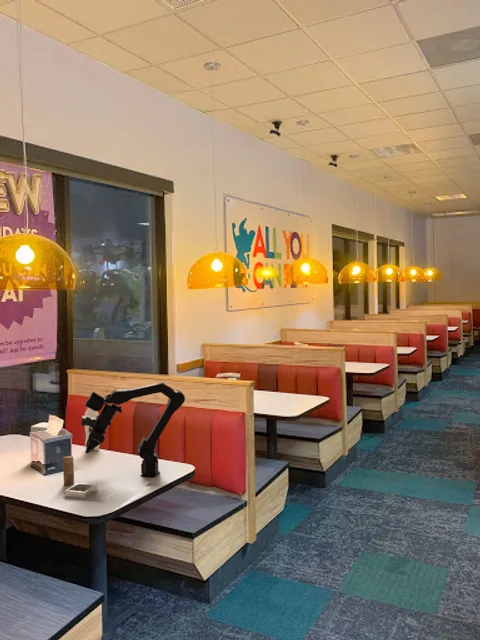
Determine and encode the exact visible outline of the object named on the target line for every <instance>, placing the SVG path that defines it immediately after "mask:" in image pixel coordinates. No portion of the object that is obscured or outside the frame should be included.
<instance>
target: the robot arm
mask: <svg viewBox="0 0 480 640" xmlns="http://www.w3.org/2000/svg"><path fill="white" fill-rule="evenodd" d="M159 393H160V394H162V395H164V396H166V397H167V398H168V399H167V402H166V405H165V408H164V410H163V412H162V413H161V415H160V416H159V418H158V420H157V422H156V423H155V425H154V426H153V428H152V430H151V431H150V433H149V434H148V436H147V437H145V436H142V438H141V440H140V442H139V443H138V445H137V446H138V447H137V450H138V455H139V457H140V458H141V459H143V460H142V461H141V465H140V471H141V474H140V477H146V478H147V477H148V478H155V477H157V476H158V475H159V474H161V471H160V470H159V458H158V455H157V453H156V451H155V448H156V445H157V442H158V440H159V438H160V436H161V435H162V433H164V432H163V431H164V430H165V428H166V427H167V425H168V423H169V422H170V420H171V419H172V417H173V415H174V413H175V412H176V411H177V410H179V409H180V408H181V406H182V405H183V404H184V403H185V400H186V396H185V394H184V393H183V392H182V391H181V390H179V389H174V388H172V387H171V386H168V385H167V384H166V383H164V381H158V382H156V383H153V384H148V385H143V386H138V387H133V388H116V389H113V391H112V392H111V393H109V394H107V395H105V396H102V395H100V394H98V393H97V392H95V391H92V392H91V394H90V395H89V397H88V398H87V399H86V401H85V403H84V407H86V408H87V409H88V408H90V409H92V410H94V411H96V412H98V411H99V412H100V413H98V414H99V415H97V417H96V418H95V417H89V416H85V415H81V421H80V426H83V427H85V426H89V432H90V433H89V438H88V440H87V443H86V447H87V449H86V448H85V453H86V454H89V453H90V452H91V450H93V451H94V448H95V447H97V446H98V445H100V446H101V444H104V441H105V440H106V437H105V435H106V432H107V429H108V428H109V426H111V424H112V421H113V420H114V417H115V416H116V414H117V412H119V413H120V414H122V413H123V409H122V404H125V403H127V402H129V401H132V400H133V399H136V398H140V397H141V398H142V397H145V396H146V397H147V396H150V395H153V394H154V395H155V394H159Z"/></svg>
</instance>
